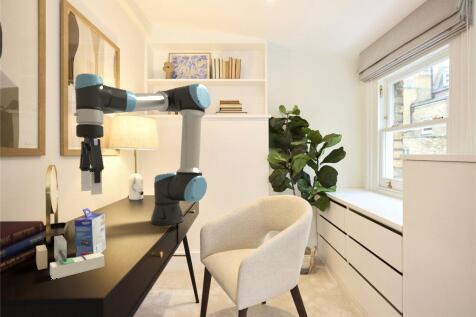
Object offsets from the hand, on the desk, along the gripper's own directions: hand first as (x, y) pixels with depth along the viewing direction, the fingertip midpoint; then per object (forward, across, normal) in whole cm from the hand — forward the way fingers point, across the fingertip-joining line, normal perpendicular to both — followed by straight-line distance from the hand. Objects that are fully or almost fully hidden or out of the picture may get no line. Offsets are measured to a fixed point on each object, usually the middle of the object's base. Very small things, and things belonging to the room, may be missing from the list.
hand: (91, 192), depth 84 cm
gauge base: (+19, +5, -7) cm, 21 cm away
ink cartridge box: (+20, 0, 0) cm, 20 cm away
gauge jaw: (+19, +5, -8) cm, 21 cm away
